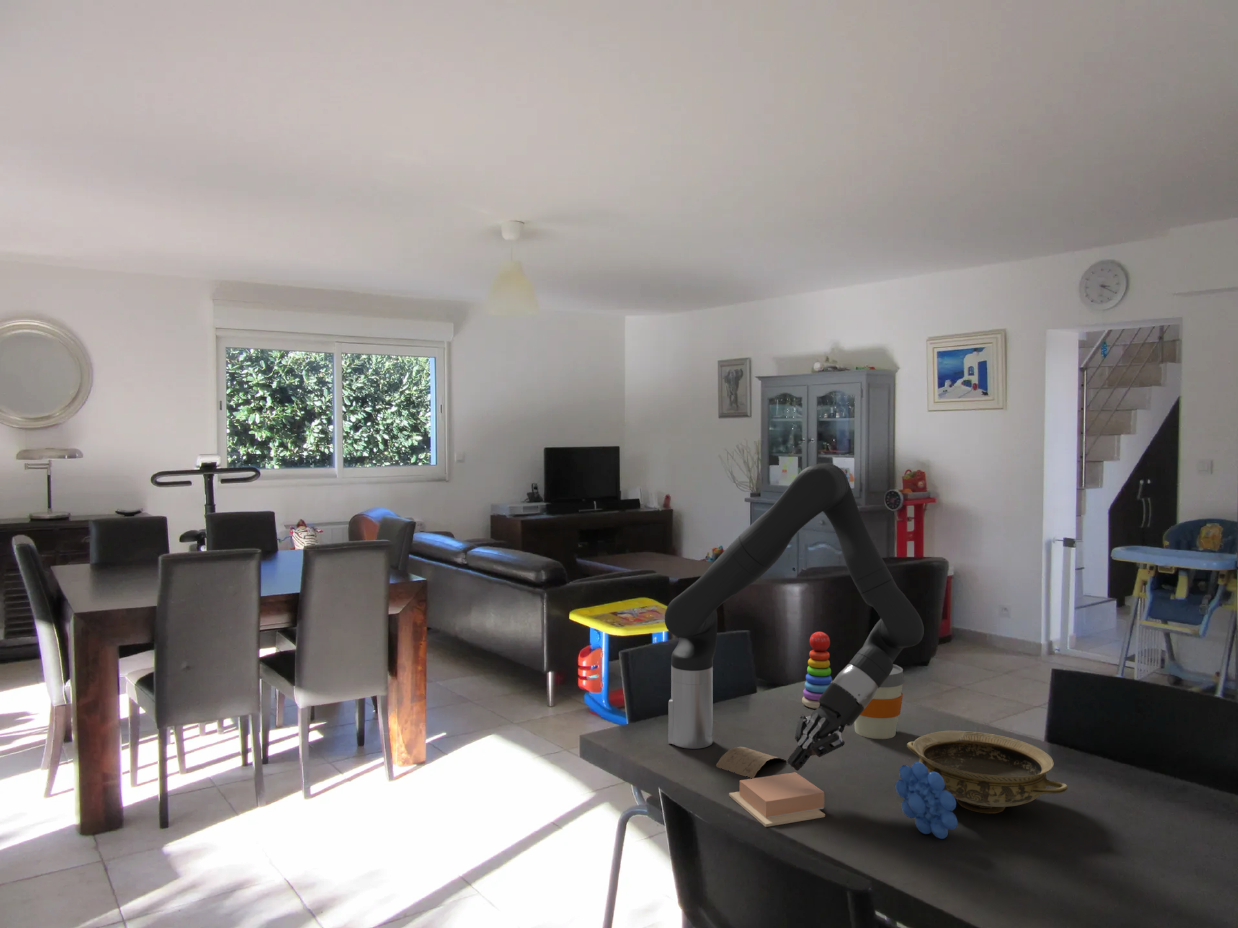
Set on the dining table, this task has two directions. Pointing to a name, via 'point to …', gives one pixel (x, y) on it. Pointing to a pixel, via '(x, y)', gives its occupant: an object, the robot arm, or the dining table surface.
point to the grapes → (926, 800)
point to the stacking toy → (817, 670)
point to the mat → (777, 819)
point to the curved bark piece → (744, 761)
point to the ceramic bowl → (986, 768)
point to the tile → (781, 794)
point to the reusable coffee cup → (883, 708)
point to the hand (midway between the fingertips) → (792, 766)
